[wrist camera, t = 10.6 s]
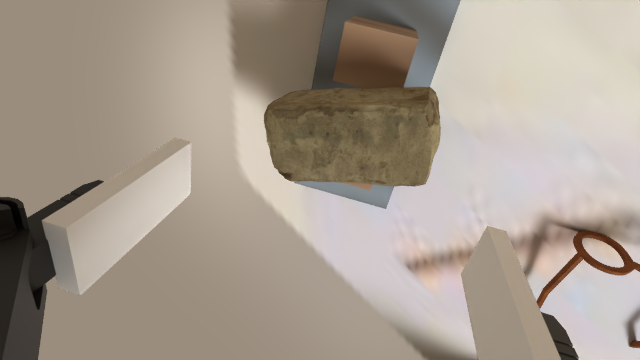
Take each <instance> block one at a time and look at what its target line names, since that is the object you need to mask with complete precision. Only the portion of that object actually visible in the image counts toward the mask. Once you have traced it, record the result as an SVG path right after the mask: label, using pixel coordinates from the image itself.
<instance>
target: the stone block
mask: <svg viewBox="0 0 640 360" xmlns="http://www.w3.org/2000/svg"><path fill="white" fill-rule="evenodd" d="M439 119H440V116H439V102H438V98H437V95H436V92H435V91H434V90H433V89H432V88H430V87H401V88H400V87H389V88H373V89H362V88H348V89H346V88H333V89H323V90H302V91H295V92H291V93H288V94H286V95H285V96H283V97H282V98H279V99H277V100H275V101H273V102H272V103H271V104H270V105H268V107H267V109H266V111H265V114H264V123H265V128H266V133H267V143H268V145H269V148H270V155H271V158H272V162H273V165H274V168H276V169H277V170H278V172H279V173H280V174H281V175H282V176H284V178H285V179H287V180H289V181H299V182H302V181H315V182H336V183H364V184H374V185H382V186H401V185H403V186H419V185H423V184H426V181H427V179H428V177H429V174H430V170H431V166H432V161H433V158H434V155H435V153H436V151H437V148H438V146H439V141H440V128H441V127H440V120H439Z"/></svg>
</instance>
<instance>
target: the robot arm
mask: <svg viewBox="0 0 640 360" xmlns="http://www.w3.org/2000/svg"><path fill="white" fill-rule="evenodd" d="M190 193H191V142H189V141H185V140H182V139H178V138H174V139H172V140H171V141H169V142H168V143H166V144H164V145H163V146H162V147H160V148H158V149H156V150H155V151H153V152H152V153H150V154H148V155H147V156H145V157H144V158H142V159H141V160H139V161H137V162H135V163H134V164H132V165H131V166H129V167H127V168H126V169H124V170H122V171H121V172H119V173H118V174H116V175H114V176H113V177H111V178H110V179H108V180H106V181H105V182H104V181H100V180H97V181H94V182H91V183H88V184H85V185H82V186H80V187H79V188H77V189H76V190H74V191H72V192H71V193H70V194H67V195H65V196H64V197H62V198H61V199H60V200H57V201H55V202H53V203H52V204H50V205H48V206H47V207H45V208H43V209H41V210H40V211H38V212H36V213H35V214H33V215H32V216H30V217H28V218H27V216H26V212H25V208H24V205H23V203H22V202H21V201H20V200H18V199H15V198H10V197H0V360H38V354H39V347H40V339H41V332H42V324H43V316H44V309H45V302H46V295H47V289H46V284H45V283H47V282H48V281H49V280H50V279H52V278H53V277H54V276H56V280H57V284H58V287H59V289H62V290H65V291H68V292H71V293H74V294H77V295H82V293H84V292H85V291H86V290H87V289H88V288H89V287H90V286H91V285H92V284H93V283H94V282H95V281H97V280H98V279H99V278H100V277H101V276H102V275H103V274H104V273H105V272H106V271H107V270H109V269H110V268H111V266H113V265H114V264H115V263H116V262H117V261H118V260H119V259H120V258H121V257H123V256H124V255H125V254H126V253H127V252H128V251H129V250H130V249H131V248H132V247H133V246H135V245H136V244H137V243H138V242H139V241H140V240H141V239H142V238H143V237H144V236H145V235H146V234H147V233H148V232H150V231H151V230H152V229H153V228H154V227H155V226H156V225H157V224H158V223H159V222H160V221H161V220H163V219H164V218H165V217H166V216H167V215H168V214H169V213H170V212H171V211H172V210H173V209H175V208H176V207H177V206H178V205H179V204H180V203H181V202H182V201H183V200H184V199H185V198H186V197H187V196H188V195H190ZM461 277H462V282H463V287H464V292H465V297H466V302H467V307H468V312H469V317H470V322H471V327H472V332H473V336H474V341H475V346H476V351H477V356H478V360H578V358H579V357H578V355H577V353H576V351H575V349H574V348H572V346H573V345H572V343H571V341H570V339H569V337H568V334H567V332H566V330H565V329H564V328H563V327H562V326H561V325H560V323H559V322H558V321H557V320H556V319H555V317H554V316H552V315H549V314H545V313H542V312H541V311H540V309H539V307H538V304H537V302H536V300H535V297H534V295H533V293H532V290H531V288H530V286H529V283H528V281H527V279H526V276H525V274H524V272H523V269H522V267H521V265H520V262H519V260H518V258H517V255H516V253H515V251H514V248H513V246H512V244H511V241H510V239H509V237H508V234H507V232H506V231H503V230H500V229H496V228H492V227H489V226H487V228H486V230H485V231H484V233H483V235H482V237H481V239H480V240H479V242H478V244H477V246H476V248H475V250H474V251H473V253H472V255H471V257H470V259H469V260H468V262H467V264H466V266H465V268H464V270H463V271H462V273H461Z"/></svg>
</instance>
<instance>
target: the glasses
mask: <svg viewBox="0 0 640 360" xmlns="http://www.w3.org/2000/svg"><path fill="white" fill-rule="evenodd" d="M583 238H594V239H597V240H600V241H603V242H605V243H607V244H608V245H610V246H611V247H613V248H614V249H615V250H616V251H617V252H618V253H619V255H620V256H621V258H622V259H623V262H624V267H621V268H615V267H610V266H607V265H604V264H602V263H600V262H598V261H597V260H595V259H594V258H592V257H591V256H590V255H589V254H588V253H587V252H586V250H585V249H584V247H583V245H582V239H583ZM573 243H574V246H575V249H576V251H577V252H578V253H577V254H576V255H575V256H574V257H573V258H572V259H571V260H570V261H569V262H568V263H567V264H566V265H565V266H564V267H563V268H562V269H561V270H560V271H559V272H558V274H557V275H556V276H555V277H554V278H553V279H552V280H551V281H550V282H549V283H548V284H547V285H546V286H545V287H544V288H543V290H542V292H541V294H540V296H539V298H538V300H537V301H536V302H537V304H538V307H539V309H540V308H541V306H542V305H543V303H544V301H545V299H546V297H547V296H548V294H549V293H550V292H551V291H552V290H553V289H554V288H555V287H556V286H557V285H558V284H559V283H560V282H561V281H562V280H563V279H564V278H565V277H566V276H567V275H568V274H569V273H570V272H571V271H572V270H573V269H574V268H575V267H576V266H577V265H578V264H579V263H580V262H581V261H582V260H583V259H584V260H585V261H586V262H587V263H588V264H590V265H591V266H593V267H595V268H597V269H598V270H601V271H603V272H606V273H609V274H613V275H626V274H628V273H630V272H631V271H633V270H634V269H636V270H637V271H639V272H640V264H638V263H636V262H633V260H632V259H631V257H630V256H629V254H628V253H627V252H626V251H625V249H624V248H623V247H622V246H621V245H620V244H618V243H617V242H616V241H614V240H613V239H611V238H609V237H607V236H605V235H602V234H600V233H595V232H591V231H581V232H578V233H577V234H576V236H575V237H574V239H573ZM630 347H633V348H640V341H633V342H632V343H631V344H630Z"/></svg>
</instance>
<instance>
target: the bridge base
mask: <svg viewBox="0 0 640 360" xmlns="http://www.w3.org/2000/svg"><path fill="white" fill-rule="evenodd" d="M459 3H460V0H328V3H327V9H326V14H325V20H324V25H323V30H322V36H321V41H320V47H319V52H318V57H317V63H316V68H315V74H314V79H313V84H312V90H323V89H333V88H346V89H348V88H362V89H373V88H389V87H400V88H401V87H430V84H431V81H432V79H433V76H434V73H435V70H436V67H437V65H438V62H439V59H440V56H441V53H442V51H443V48H444V45H445V42H446V39H447V37H448V34H449V31H450V28H451V25H452V23H453V20H454V17H455V14H456V11H457V9H458V6H459ZM294 183H297V184H300V185H304V186H307V187H311V188H314V189H318V190H321V191H325V192H328V193H332V194H336V195H339V196H343V197H346V198H350V199H353V200H357V201H360V202H364V203H367V204H371V205H374V206H378V207H381V208H385V209H386V207H387V204H388V202H389V199H390V196H391V193H392V190H393V188H394V186H382V185H374V184H364V183H336V182H315V181H302V182H299V181H295V182H294Z"/></svg>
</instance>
